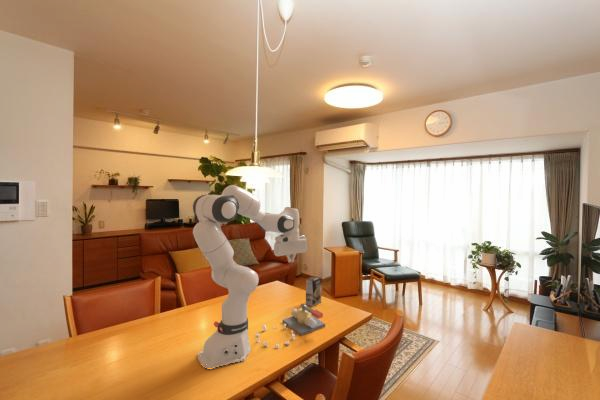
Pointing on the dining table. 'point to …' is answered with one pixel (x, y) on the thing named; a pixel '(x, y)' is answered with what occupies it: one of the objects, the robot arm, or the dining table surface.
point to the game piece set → (276, 344)
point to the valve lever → (312, 311)
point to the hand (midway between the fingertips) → (291, 262)
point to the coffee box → (313, 291)
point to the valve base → (302, 327)
